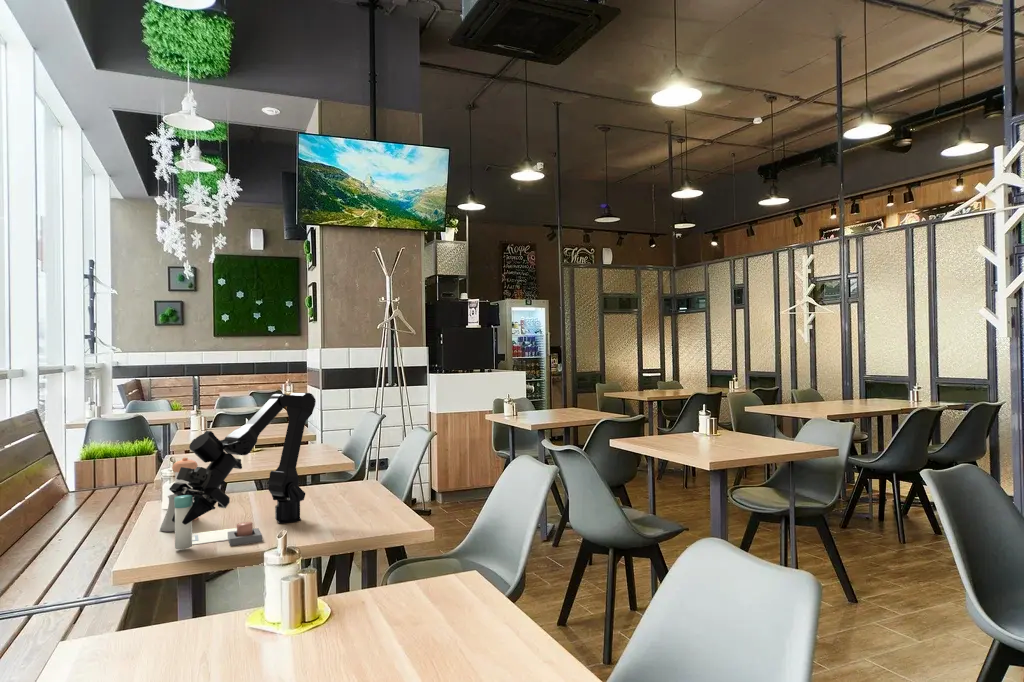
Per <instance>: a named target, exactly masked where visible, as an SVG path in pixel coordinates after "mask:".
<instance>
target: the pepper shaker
mask: <svg viewBox="0 0 1024 682" xmlns="http://www.w3.org/2000/svg"><path fill="white" fill-rule="evenodd" d="M181 467H184V468H191V469H196V468H197V467H199V466H198V463H197V462H196V461H195V460H193V459H189V458H188V457H183V458H181V460H177V461H176V462H174V463H173V464H172V467H171V468H172V471H173V472H174V478H175V479H174V483H177V482H180V483H186V484H187V485H188V483H189V482H187V481H184V480H178V479H176V478H177V476H178V473H179V471H180V468H181ZM188 486H189V487H190V488H193V487H191V486H190V485H188ZM193 502H194V501H193ZM198 519H199V517H198V518H196V519H194V520H193V521H197V520H198ZM193 521H192V522H193Z"/></svg>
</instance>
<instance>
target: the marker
mask: <svg viewBox="0 0 1024 682" xmlns="http://www.w3.org/2000/svg"><path fill="white" fill-rule="evenodd" d="M174 507H175V531H174V549H175V550H185V549H190V548H192V547H193V545H192V533H193V521H191V522H189V523H188V524H186V525H184V524H183V523H182V521H183V520H184V518H185V516H186V515H187V513H188V512H189V510H190V508H191V507H192V495H182V496H177V497H175V498H174Z"/></svg>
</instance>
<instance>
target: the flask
mask: <svg viewBox="0 0 1024 682" xmlns="http://www.w3.org/2000/svg"><path fill="white" fill-rule="evenodd" d="M175 497H177V496H176V495H175V494H174V493H172V494H169V495H167V498H168V504H167V505H168V506H167V510H166V513H165V515H164V518H163V519H162V520H163V521H162V523H161V525H160V528H159V531H160V532H175V523H174V522H173V521H172V519H173V516H174V513H175V507H174V498H175Z"/></svg>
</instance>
